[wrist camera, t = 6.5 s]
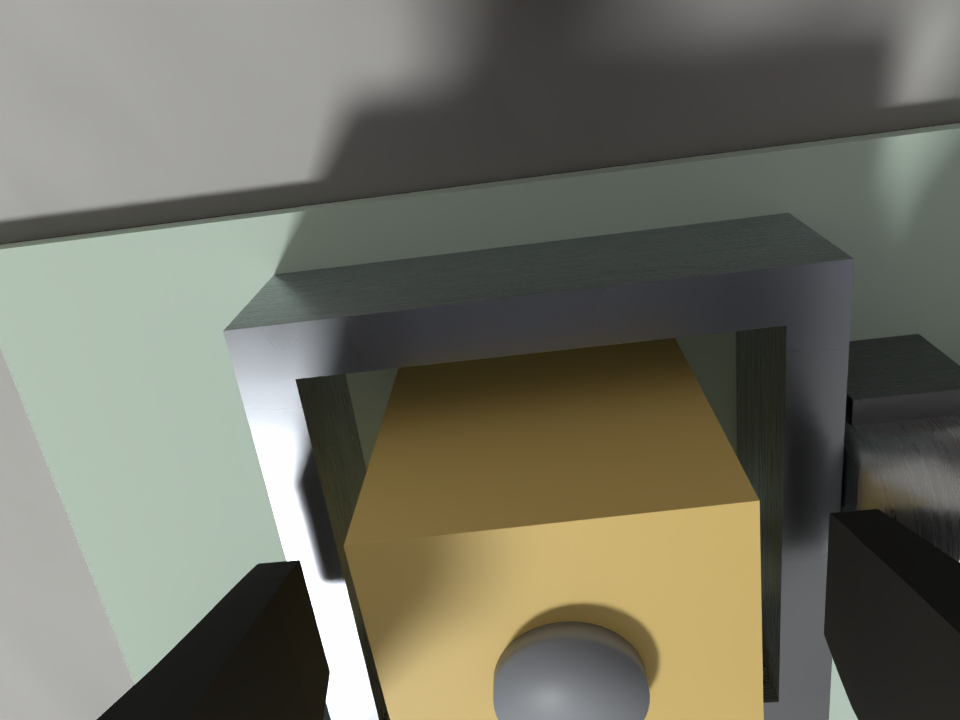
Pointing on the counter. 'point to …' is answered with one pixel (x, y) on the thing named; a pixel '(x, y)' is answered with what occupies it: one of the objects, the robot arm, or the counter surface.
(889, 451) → the shaft
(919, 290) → the mat
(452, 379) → the yellow block
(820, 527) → the frame
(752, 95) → the counter surface
